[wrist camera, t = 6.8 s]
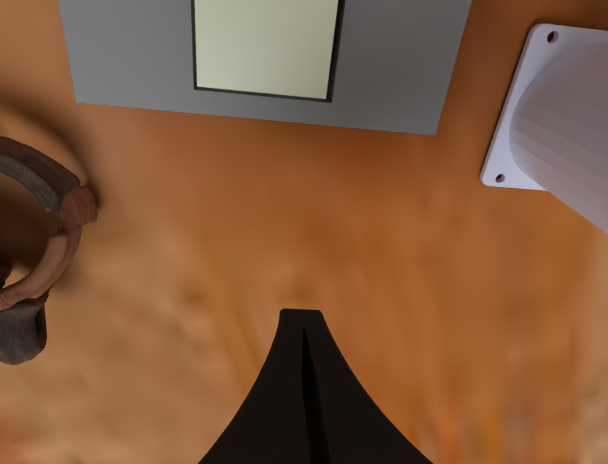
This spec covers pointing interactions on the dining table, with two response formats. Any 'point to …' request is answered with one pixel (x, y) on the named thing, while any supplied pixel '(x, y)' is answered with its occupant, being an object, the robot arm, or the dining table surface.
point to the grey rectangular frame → (212, 101)
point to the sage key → (265, 45)
